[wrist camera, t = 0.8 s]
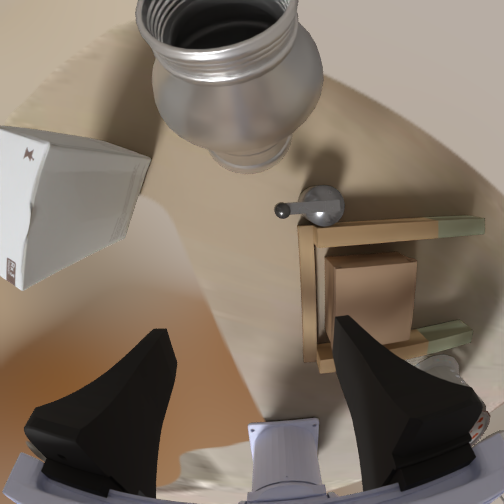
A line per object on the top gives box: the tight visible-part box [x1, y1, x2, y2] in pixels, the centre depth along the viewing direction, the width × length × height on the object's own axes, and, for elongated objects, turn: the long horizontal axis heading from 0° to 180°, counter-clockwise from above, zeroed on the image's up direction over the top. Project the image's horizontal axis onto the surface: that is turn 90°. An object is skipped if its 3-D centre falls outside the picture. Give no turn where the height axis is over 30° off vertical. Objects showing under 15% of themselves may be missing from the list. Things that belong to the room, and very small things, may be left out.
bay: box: [297, 215, 485, 374], centre depth 25 cm, size 13×18×3 cm
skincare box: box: [0, 126, 151, 291], centre depth 18 cm, size 8×6×15 cm
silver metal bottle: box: [135, 0, 323, 174], centre depth 14 cm, size 6×7×20 cm
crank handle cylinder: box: [274, 185, 345, 226], centre depth 22 cm, size 3×5×6 cm, turn 95°
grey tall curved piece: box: [415, 354, 504, 503], centre depth 17 cm, size 10×12×25 cm
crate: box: [325, 252, 417, 349], centre depth 24 cm, size 7×7×4 cm
